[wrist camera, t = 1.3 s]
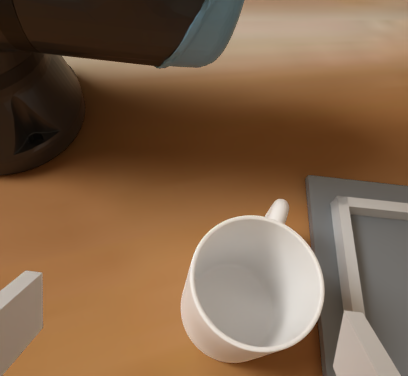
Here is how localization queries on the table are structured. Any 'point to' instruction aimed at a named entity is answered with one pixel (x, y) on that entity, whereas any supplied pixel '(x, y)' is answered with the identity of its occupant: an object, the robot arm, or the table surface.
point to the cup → (251, 288)
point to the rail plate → (361, 260)
